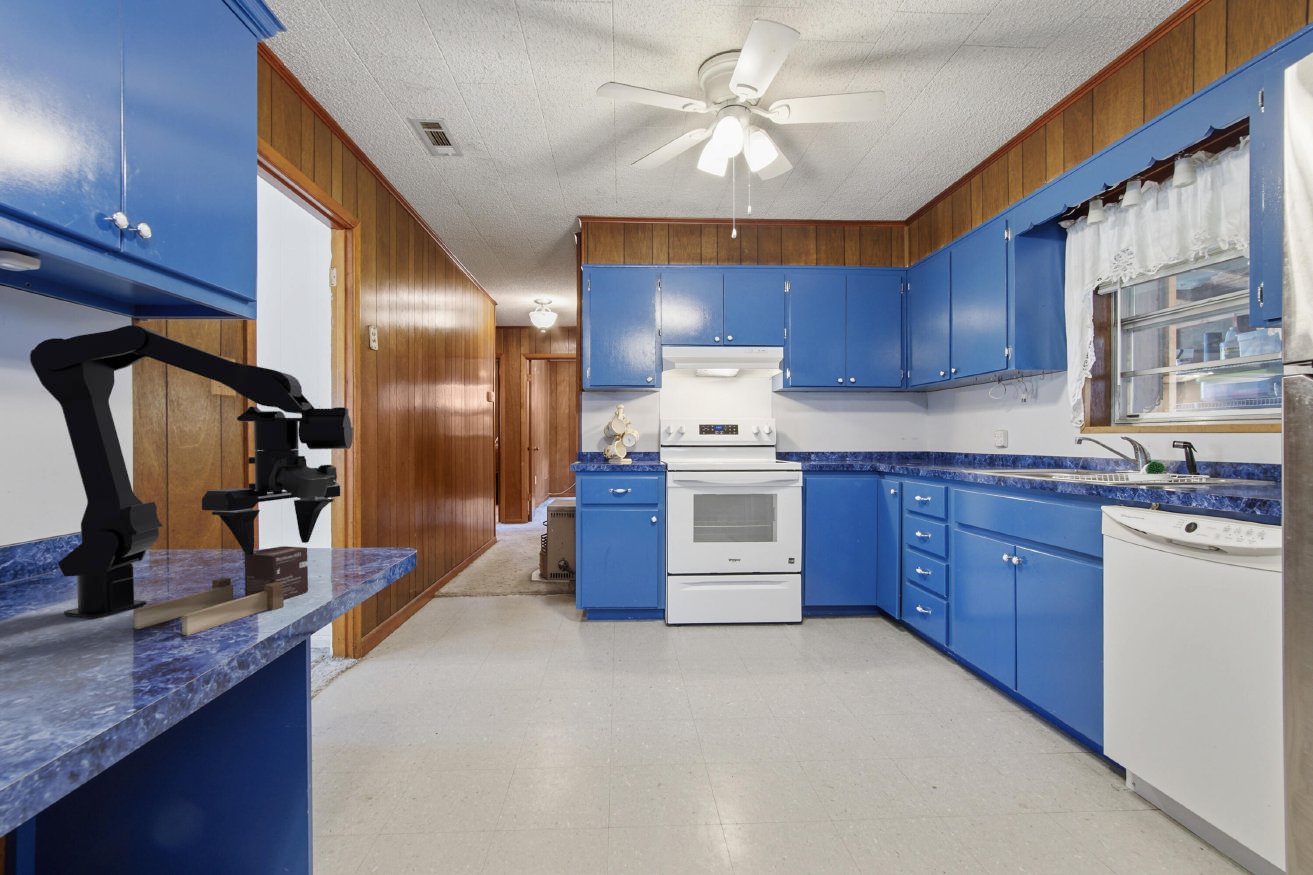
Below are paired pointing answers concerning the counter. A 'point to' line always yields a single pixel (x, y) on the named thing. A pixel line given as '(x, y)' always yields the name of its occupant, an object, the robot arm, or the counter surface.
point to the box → (277, 570)
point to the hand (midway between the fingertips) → (278, 548)
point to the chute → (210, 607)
